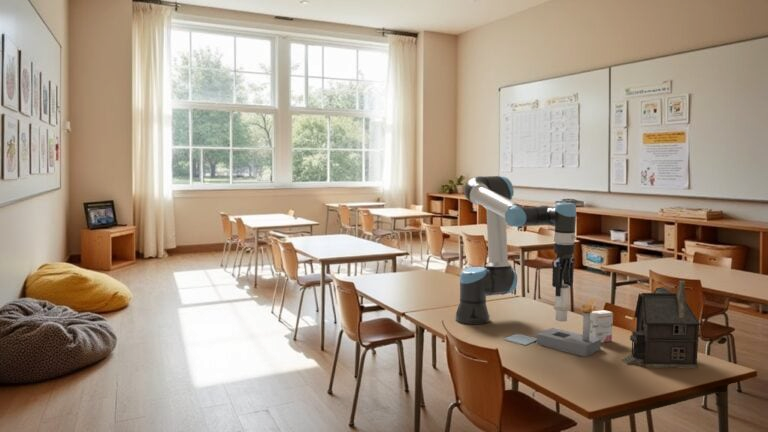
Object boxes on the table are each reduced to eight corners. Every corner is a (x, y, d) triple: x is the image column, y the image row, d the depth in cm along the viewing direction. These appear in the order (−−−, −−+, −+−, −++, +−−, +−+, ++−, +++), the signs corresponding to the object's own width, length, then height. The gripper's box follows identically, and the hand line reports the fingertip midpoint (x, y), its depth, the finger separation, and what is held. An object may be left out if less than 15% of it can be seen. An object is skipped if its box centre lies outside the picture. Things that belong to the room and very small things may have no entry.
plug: (550, 319, 216) (551, 284, 215) (558, 316, 220) (559, 282, 219) (564, 323, 212) (566, 286, 210) (572, 320, 216) (573, 284, 214)
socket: (536, 343, 217) (537, 306, 216) (552, 337, 226) (553, 301, 224) (585, 356, 203) (586, 316, 202) (600, 349, 211) (601, 310, 210)
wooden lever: (589, 309, 221) (589, 297, 221) (598, 310, 219) (599, 298, 219) (580, 318, 208) (581, 306, 207) (590, 320, 206) (591, 307, 205)
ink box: (603, 337, 226) (604, 309, 225) (612, 341, 221) (613, 312, 220) (586, 340, 222) (587, 311, 221) (595, 343, 218) (596, 314, 217)
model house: (612, 351, 209) (615, 272, 207) (675, 352, 209) (679, 273, 206) (629, 367, 193) (633, 281, 190) (698, 368, 192) (703, 282, 190)
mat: (503, 339, 223) (503, 338, 223) (517, 334, 230) (517, 333, 230) (525, 345, 215) (525, 344, 215) (538, 340, 222) (538, 339, 222)
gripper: (562, 246, 204) (559, 309, 207) (584, 242, 216) (581, 301, 219) (543, 244, 210) (541, 305, 212) (566, 240, 222) (564, 297, 224)
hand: (561, 303), depth 215 cm, fingers closed on plug, 4 cm apart
